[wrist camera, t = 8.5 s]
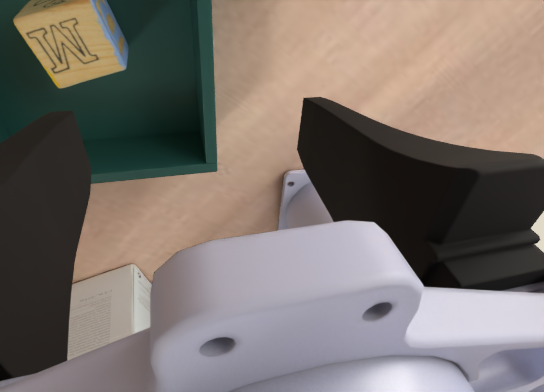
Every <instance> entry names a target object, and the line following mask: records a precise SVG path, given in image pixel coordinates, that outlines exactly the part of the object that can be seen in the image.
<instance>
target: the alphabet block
mask: <svg viewBox="0 0 544 392" xmlns="http://www.w3.org/2000/svg"><path fill="white" fill-rule="evenodd" d="M13 22H14V25H15V26H16V28H17V29H18V31H19V32H20V34H21V35H22V37H23V38H24V39H25V41H26V43H27V44H28V46H29V47H30V48H31V49H32V51H33V53H34V54H35V55H36V57H37V59H38V60H39V61H40V62H41V64H42V66H43V67H44V69H45V70H46V71H47V73H48V75H49V76H50V77H51V78H52V80H53V82H54V83H55V85H56V86H57V87H58V88H66V87H69V86H72V85H75V84H78V83H81V82H85V81H88V80H92V79H95V78H99V77H102V76H105V75H109V74H112V73H115V72H119V71H123V70H125V69H126V67H127V59H128V44H127V42H126V39H125V37H124V35H123V33H122V31H121V29H120V27H119V25H118V23H117V21H116V19H115V17H114V15H113V13H112V11H111V9H110V7H109V5H108V3H107V0H30V1H29V2H28V3H27V4H26V5H25V6H24V7H23V9H21V11H20V12H19V13H18V14H17V15H16V16H15V17H14V19H13Z"/></svg>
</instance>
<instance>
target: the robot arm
mask: <svg viewBox="0 0 544 392" xmlns="http://www.w3.org/2000/svg"><path fill="white" fill-rule="evenodd" d="M297 150H298V153H299V156H300V159H301V162H302V164H303V167H304V170H294V171H288V172H287V173H286V174H285V175H284V179H283V188H282V197H281V205H280V214H279V222H278V230H277V231H271V232H264V233H257V234H250V235H243V236H237V237H230V238H223V239H216V240H210V241H207V242H204V243H201V244H198V245H195V246H192V247H189V248H186V249H183V250H180V251H178V252H176V253H175V254H174V255H173V256H172V257H171V258H170V259H169V260H167V261H166V262H165V263H164V264H163V265H162V266H161V267H160V268H158V269H157V270H156V271H155V272H154V276H153V281H152V287H151V292H150V327H149V328H147V329H144V330H142V331H139V332H137V333H134V334H132V335H130V336H127V337H125V338H122V339H120V340H117V341H115V342H112V343H110V344H107V345H105V346H102V347H100V348H97V349H95V350H92V351H90V352H87V353H85V354H82V355H80V356H78V357H75V358H73V359H70V360H68V361H67V355H68V334H69V317H70V303H71V291H72V281H73V271H74V262H75V257H76V251H77V247H78V243H79V239H80V234H81V230H82V226H83V222H84V218H85V214H86V209H87V205H88V201H89V196H90V187H91V165H90V162H89V159H88V156H87V152H86V149H85V146H84V143H83V140H82V137H81V134H80V131H79V128H78V125H77V122H76V118H75V115H74V112H73V111H58V112H49V113H47V114H45V115H43V116H41V117H39V118H38V119H36V120H35V121H33V122H32V123H30V124H29V125H27V126H26V127H24V128H23V129H21V130H20V131H18V132H17V133H15V134H14V135H12V136H11V137H9V138H8V139H6V140H5V141H3V142H2V143H0V392H544V253H543V252H542V251H541V250H540V249H539V248H538V247H537V246H536V245H535V243H538V241H539V240H540V238H539V236H538V235H537V234H536V233H535V232H534V231H532V230H531V229H530V228H531V227H532V226H533V224H534V223H535V222H536V220H537V219H538V218H539V216H540V215H541V214H542V212H543V211H544V159H542V158H541V157H539V156H537V155H533V154H524V153H513V152H501V151H491V150H483V149H477V148H470V147H464V146H458V145H453V144H448V143H444V142H440V141H435V140H431V139H427V138H423V137H420V136H416V135H413V134H410V133H407V132H404V131H401V130H398V129H395V128H392V127H390V126H387V125H385V124H382V123H380V122H377V121H375V120H373V119H370V118H368V117H366V116H364V115H362V114H359V113H357V112H355V111H353V110H351V109H349V108H347V107H344V106H342V105H340V104H338V103H336V102H333V101H331V100H328V99H325V98H322V97H313V98H304V100H303V108H302V115H301V123H300V131H299V139H298V146H297ZM289 182H292V183H290V184H288V183H289Z"/></svg>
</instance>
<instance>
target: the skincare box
mask: <svg viewBox="0 0 544 392" xmlns="http://www.w3.org/2000/svg"><path fill="white" fill-rule="evenodd" d="M151 287H152V284H151V283H150V282H149V281H148V280H147V279H146V277H145V276H144V275H143V274H142V272H141V271H140V270H139V269H138V268H137V267H136V266H135V265H134V264H129V265H126V266H124V267H121V268H118V269H115V270H112V271H109V272H106V273H103V274H100V275H98V276H95V277H92V278H89V279H86V280H83V281H80V282H77V283H74V284H72V291H71V303H70V317H69V334H68V355H67V361H68V360H70V359H73V358H75V357H78V356H80V355H82V354H85V353H87V352H90V351H92V350H95V349H97V348H100V347H102V346H105V345H107V344H110V343H112V342H115V341H117V340H120V339H122V338H125V337H127V336H130V335H132V334H134V333H137V332H139V331H142V330H144V329H147V328H149V327H150V292H151Z"/></svg>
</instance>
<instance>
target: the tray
mask: <svg viewBox="0 0 544 392" xmlns="http://www.w3.org/2000/svg"><path fill="white" fill-rule="evenodd" d="M29 1H30V0H0V143H2V142H3V141H5V140H6V139H8V138H9V137H11V136H12V135H14V134H15V133H17V132H18V131H20V130H21V129H23V128H24V127H26V126H27V125H29V124H30V123H32V122H33V121H35V120H36V119H38V118H39V117H41V116H43V115H45V114H47V113H49V112H58V111H73V112H74V115H75V118H76V122H77V125H78V128H79V131H80V134H81V137H82V140H83V143H84V146H85V149H86V152H87V156H88V159H89V162H90V165H91V184H93V183H103V182H114V181H124V180H134V179H144V178H155V177H165V176H175V175H185V174H196V173H206V172H216V171H217V144H216V115H215V86H214V57H213V28H212V0H107V3H108V5H109V7H110V9H111V11H112V13H113V15H114V17H115V19H116V21H117V23H118V25H119V27H120V29H121V31H122V33H123V35H124V37H125V39H126V42H127V44H128V59H127V67H126V69H125V70H123V71H119V72H115V73H112V74H109V75H105V76H102V77H99V78H95V79H92V80H88V81H85V82H81V83H78V84H75V85H72V86H69V87H66V88H58V87H57V86H56V85H55V83H54V82H53V80H52V78H51V77H50V76H49V75H48V73H47V71H46V70H45V69H44V67H43V66H42V64H41V62H40V61H39V60H38V59H37V57H36V55H35V54H34V53H33V51H32V49H31V48H30V47H29V46H28V44H27V43H26V41H25V39H24V38H23V37H22V35H21V34H20V32H19V31H18V29H17V28H16V26H15V25H14V22H13V19H14V17H15V16H16V15H17V14H18V13H19V12H20V11H21V9H23V7H24V6H25V5H26V4H27V3H28V2H29Z"/></svg>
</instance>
